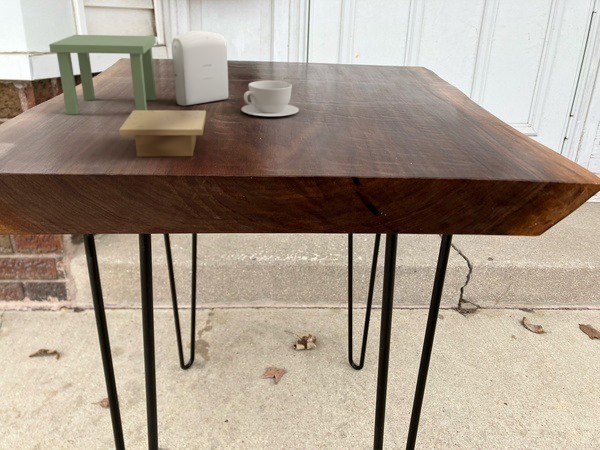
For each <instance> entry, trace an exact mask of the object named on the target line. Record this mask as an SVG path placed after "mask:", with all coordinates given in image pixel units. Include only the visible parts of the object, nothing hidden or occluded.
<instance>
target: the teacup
mask: <svg viewBox="0 0 600 450" xmlns="http://www.w3.org/2000/svg"><path fill="white" fill-rule="evenodd" d="M292 89H293V85H292V84H291V83H290V82H286V81H280V80H257V81H252V82H249V83H248V90H247V91H246V92H244V94H243V100H244V102H245V104H246V105H243V106H242V107H241V109H240V110H241V111H242V112H243V113H245V114H248V115H252V116H259V117H285V116H290V115H294V114H297V113H298V112H299V110H300V109H299V108H298V107H297V106H294V105H292V104H289V103H290V101H291V97H292ZM248 97H249V99H250V101H249V100H248Z"/></svg>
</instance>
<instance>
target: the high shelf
mask: <svg viewBox="0 0 600 450" xmlns="http://www.w3.org/2000/svg"><path fill="white" fill-rule="evenodd" d="M156 43H157V41H156V36H153V35H108V34H107V35H103V34H73V35H70V36H67V37H65V38H62V39H59V40H57V41H55V42H52V43H49V44H48V46H49V52H50V53H56V57H57V63H58V69H59V77H60V82H61V88H62V94H63V95H62V96H63V101H64V107H65V113H66V115H67V116H70V115H72V116H74V115H78V114H79V113H80V108H79V101H78V95H77V94H78V93H77V87H76V81H75V75H74V74H75V73H74V67H73V61H72V55H71V54H73V53H74V54H77V62H78V69H79V75H80V82H81V88H82V94H83V100H84V101H94V100H95V99H96V95H95V88H94V80H93V73H92V65H91V57H90V54H123V55H124V54H125V55H126V54H128V55H129V60H130V69H131V80H132V88H133V89H132V90H133V98H134V99H133V101H134V108H135V109H134V110H148V107H147V106H148V105H147V101H156V99H157V94H156V93H157V92H156V81H155V70H154V69H155V68H154V57H153V46H154V45H156Z"/></svg>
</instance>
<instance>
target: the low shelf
mask: <svg viewBox="0 0 600 450" xmlns="http://www.w3.org/2000/svg"><path fill="white" fill-rule="evenodd" d="M206 120H207V111H206V110H181V109H180V110H178V109H177V110H174V109H173V110H171V109H170V110H166V109H165V110H164V109H163V110H159V109H158V110H157V109H155V110H154V109H152V110H149V109H147V110H136V109H134V110H132V111H131V113H130V114H129V115H128V117H127V118H126V120H125V121H124V122H123V124H122V125H121V126H120V127H119V129H118V132H119V136H134V139H135V150H136V157H140V158H141V157H150V158H151V157H193V156H194V152H195V146H196V143H197V136H203V134H204V130H205V129H204V128H205V123H206Z"/></svg>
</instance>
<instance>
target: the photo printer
mask: <svg viewBox="0 0 600 450" xmlns="http://www.w3.org/2000/svg"><path fill="white" fill-rule="evenodd" d="M171 55H172V68H173V69H172V70H173V80H174V93H175V100H176V103H177V105H179V106H183V107H187V106H192V105H198V104H203V103H210V102H217V101H222V100H227V99H228V98H229V70H228V47H227V41H226V38H225V37H224V35H223V34H221V33H218V32H214V31H211V30H202V29H201V30H200V29H199V30H190V31H186V32H183V33H181V34H178V35H176V36H175V37H173V39H172V42H171Z"/></svg>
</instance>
